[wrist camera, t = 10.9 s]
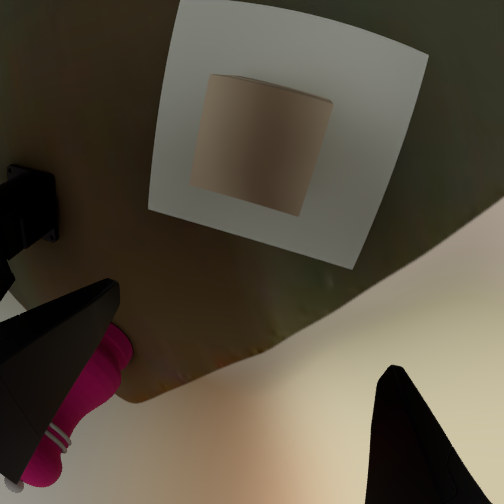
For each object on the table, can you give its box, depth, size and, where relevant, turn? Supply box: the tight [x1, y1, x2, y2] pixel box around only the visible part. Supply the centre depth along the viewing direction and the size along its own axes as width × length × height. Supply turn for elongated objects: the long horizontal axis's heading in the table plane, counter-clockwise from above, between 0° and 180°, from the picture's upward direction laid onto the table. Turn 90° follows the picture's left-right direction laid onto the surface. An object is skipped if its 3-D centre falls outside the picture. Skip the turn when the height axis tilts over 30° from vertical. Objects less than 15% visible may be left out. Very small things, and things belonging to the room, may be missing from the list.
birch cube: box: [189, 74, 334, 217], centre depth 15 cm, size 5×5×5 cm
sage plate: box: [148, 0, 429, 270], centre depth 17 cm, size 14×14×1 cm
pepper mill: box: [4, 323, 133, 493], centre depth 23 cm, size 7×7×20 cm
